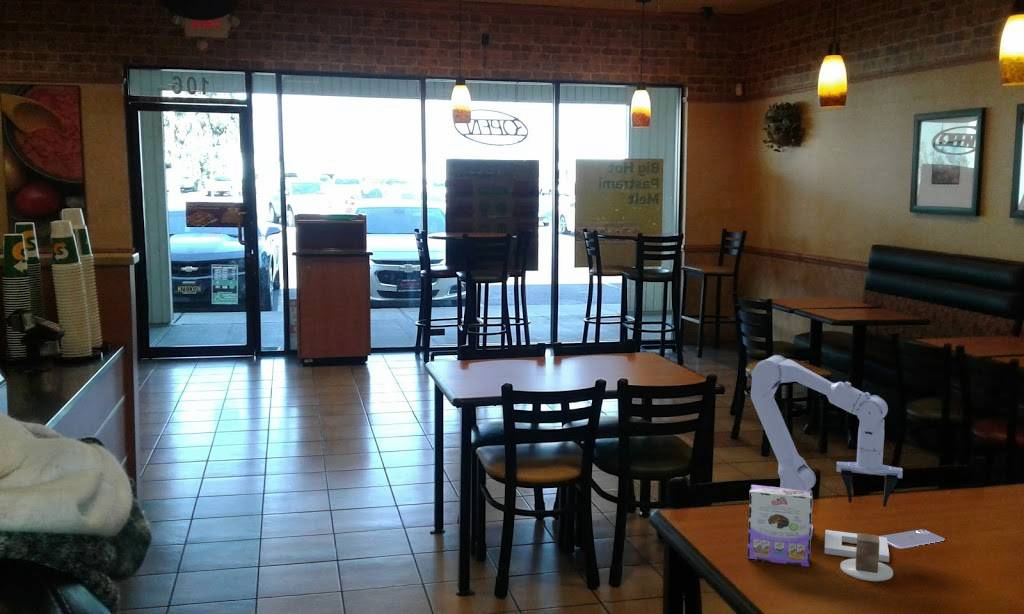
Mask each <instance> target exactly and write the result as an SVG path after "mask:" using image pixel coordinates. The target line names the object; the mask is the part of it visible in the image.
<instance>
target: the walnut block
mask: <svg viewBox="0 0 1024 614" xmlns="http://www.w3.org/2000/svg"><path fill="white" fill-rule="evenodd" d="M856 534H857V544H856V546H855V547H856V570H858V571H866V572H873V573H878V562H879V561H878V560H879V543H880V542H879V535H876V534H871V533H862V532H857V533H856Z"/></svg>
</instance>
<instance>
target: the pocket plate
mask: <svg viewBox="0 0 1024 614" xmlns="http://www.w3.org/2000/svg"><path fill="white" fill-rule="evenodd" d="M824 532H825V533H824V555H831V556H839V557H847V558H853V559H855V558H856V547H857V546H849V545H843V543H847V544H848V543H850V544H856V545H857V533H854V532H846V531H838V530H830V529H825V531H824ZM878 536H879V535H878ZM880 536H881V535H880ZM880 536H879V542H880V543H879V560H878V562H884V563H885V562H886V563H890V552H889V551H890V550H889V544H888V542H887V537H880Z"/></svg>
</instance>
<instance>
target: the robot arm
mask: <svg viewBox="0 0 1024 614" xmlns="http://www.w3.org/2000/svg"><path fill="white" fill-rule="evenodd" d="M750 375H751V385H750V386H751V388H750V399H751V402H752V404H753V406H754V408H755V411H756V413H757V416H758V418H759V420H760V422H761V425H762V428H763V430H764V431H765V435H766V436H767V439H768V441H769V443H770V446H771V449H772V451H773V453H774V455H775V457H776V460H777V462H778V468H777V469H778V470H777V474H778V476H779V479H780V482H779V483H780V484H779V487H780V488H790V489H800V490H811V489H812V488H813V487H814V486H815V484H816V481H817V479H816V474H815V472H814V471H813V469H811V468H810V467H809V466H808V464H807V462H806V460H805V459H804V457H802V456H801V455H799V453H798V451H797V448H796V446H795V444H794V441H793V439H792V436H791V433H790V431H789V429H788V427H787V425H786V423H785V420H784V418H783V415H782V413H781V411H780V408H779V405H778V404H777V402H776V400H775V393H776V392H777V389H778V388H779V385H780V384H783V383H785V384H786V383H792V382H793V383H794V382H795V383H796V382H797V383H798V384H801V385H803V386H805V387H807V388H810V389H812V390H814V391H817V392H818V393H821V394H823V395H826V397H827V399H828V402H829V403H830V404H833V405H834V406H836V407H838V408H840V409H842V410H844V411H846V412H847V413H850V414H853V415H855V416H856V417H857V419H858V420H859V425H858V431H857V450H856V461H836V472H838V473H841V474H840V476H841V478H842V481H843V483H844V487H845V489H846V492H847V498H848V502H847V503H850V504H851V503H853V501H852V500H853V499H852V498H853V497H852V496H853V495H852V490H853V489H852V487H853V485H852V484H853V473H855V474H856V473H857V474H864V475H865V474H866V475H875V476H884V484H883V485H884V489H883V494H882V495H883V497H882V507H887V504H888V500H889V498H890V495H891V494H892V491H893V490H894V487H895V486H896V485H897V482H898V479H903V468H902V467H896V466H890V465H885V464H883V463H884V462H883V459H884V444H885V443H884V442H885V419H884V418H885V417H886V415H887V414H888V411H889V410H888V409H889V407H888V404H887V402H886V401H885V400H884V399H883V398H882V397H880V396H879V395H875V394H873V395H871V393H869V392H868V391H866V392H864V391H861V390H859V389H858V388H855V387H853V386H852V383H851V382H849V381H845V382H843V381H838V382H832V381H830V380H828V379H827V378H824V377H823V376H821V375H819V374H817V373H816V372H813V371H812V370H810V369H808V368H806V367H804V366H803V365H801V364H799V363H797V362H796V361H794V360H792V359H790V358H785V357H784V356H782V355H779V354H774V355H772V356H771V355H770V357H768V358H766V359H764V360H763V359H762V360H760V361H759V362H758V363H756V365H755V366H754V367H753V370H752V371H751V373H750ZM813 497H814V496H813V494H812V502H813V500H814V498H813ZM813 530H814V525H813V524H812V527H811V538H812V537H813V532H814V531H813Z"/></svg>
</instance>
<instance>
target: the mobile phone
mask: <svg viewBox="0 0 1024 614" xmlns="http://www.w3.org/2000/svg"><path fill="white" fill-rule="evenodd" d="M880 537H887V542H888V546H892V547H893V548H895V549H900V550H901V549H902V550H903V549H909V548H914V547H915V546H916V547H920V546H919V545H922V546H926V545H925V544H928V545H931V544H930V543H934V544H936V543H935V542H940V541H944V540H945V541H946V539H945V538H944V537H942V536H940V535H937V534H935V533H933V532H931V531H929V530H926V529H922V528H921V529H915V530H909V531H904V532H898V533H891V534H884V535H880ZM940 543H941V542H940ZM916 547H915V548H916Z"/></svg>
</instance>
